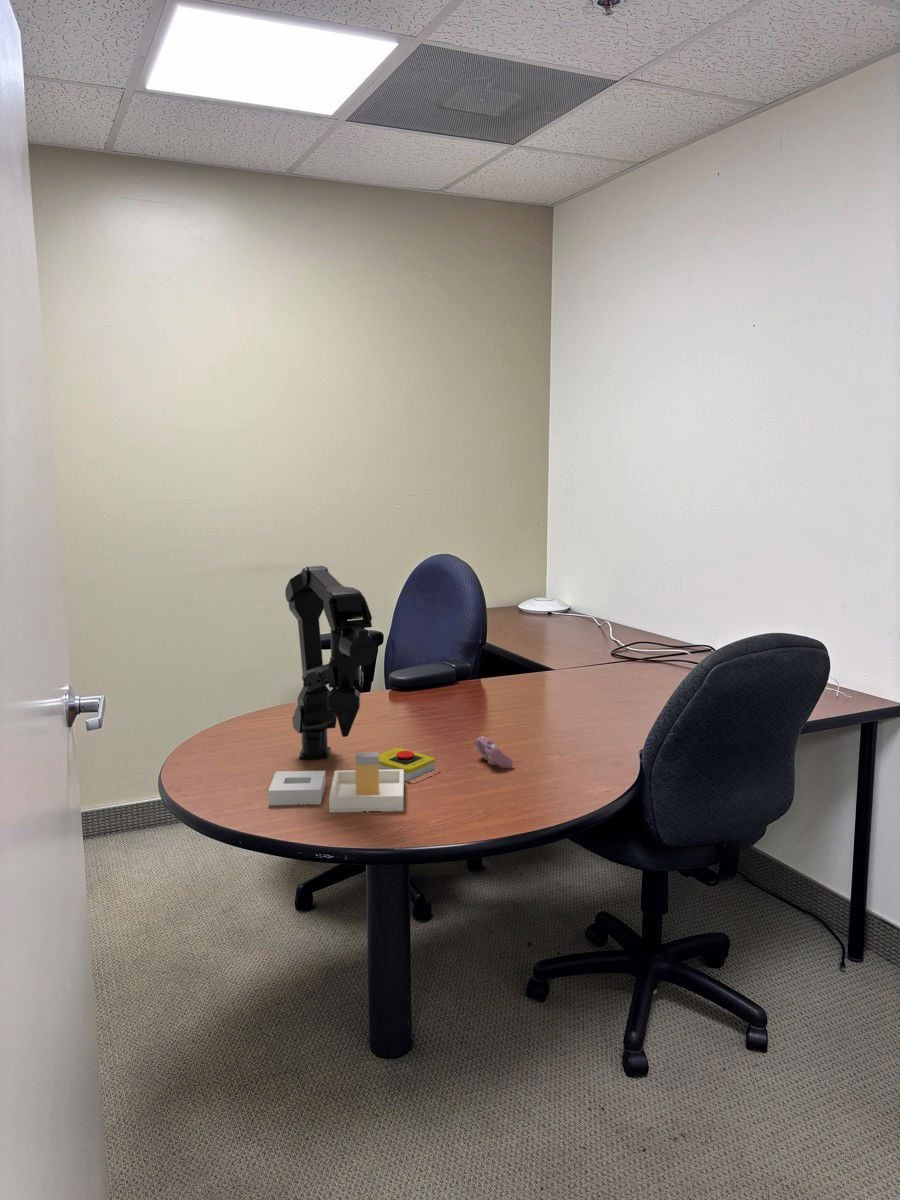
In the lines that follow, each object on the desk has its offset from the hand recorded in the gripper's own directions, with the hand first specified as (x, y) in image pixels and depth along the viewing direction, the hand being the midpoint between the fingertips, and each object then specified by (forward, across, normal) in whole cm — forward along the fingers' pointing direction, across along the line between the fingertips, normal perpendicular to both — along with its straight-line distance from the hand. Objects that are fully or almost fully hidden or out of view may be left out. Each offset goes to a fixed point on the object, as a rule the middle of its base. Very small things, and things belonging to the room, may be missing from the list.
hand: (346, 728), depth 177 cm
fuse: (+11, +6, +4) cm, 14 cm away
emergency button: (+13, -9, +11) cm, 19 cm away
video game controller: (+13, -12, +31) cm, 36 cm away
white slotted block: (+12, +4, -10) cm, 16 cm away
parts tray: (+12, +6, +4) cm, 14 cm away
